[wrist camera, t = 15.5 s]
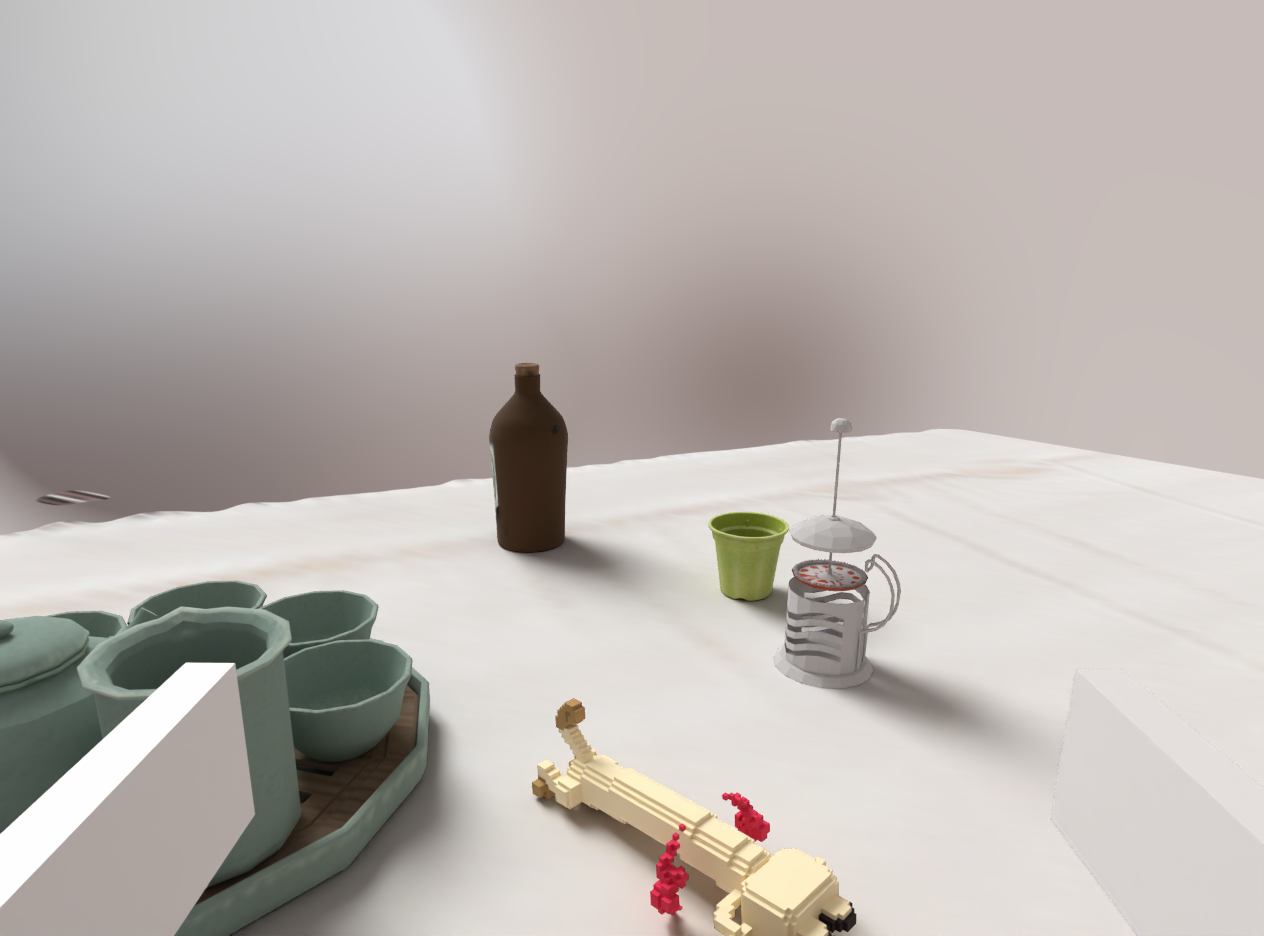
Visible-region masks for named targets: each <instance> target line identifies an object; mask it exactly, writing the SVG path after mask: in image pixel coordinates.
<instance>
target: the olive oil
mask: <svg viewBox="0 0 1264 936" xmlns="http://www.w3.org/2000/svg"><path fill="white" fill-rule="evenodd" d="M515 370H516V375H515V394H514V395H513V396H512V397H511V398H510V400H509V401H508V402H507V403H506V404H505V405H504V406H503V407H502V409H501V410H500V411H499V412H498V413H497V414H496V416H495V418H494V419H493V422H492V425H491V429H490V436H489V441H490V452H491V463H492V472H493V485H494V497H495V510H496V522H497V538H498V543H499V545H500V546H502V547H503V548H505V549H508V550H512V551H517V552H539V551H545V550H550V549H553V548H556V547H558V546H559V545H561V544H562V543H563V542H564V537H565V494H566V467H567V445H568V433H567V428H566V425H565V422H564V420H563V418H562V416H561V415H560V413H559V412H558V411H557V410H556V409H555V408H554V407H553V406H552V405H551V404H550V402H548V400H547V399H546V398H545V397H544V396H543V395H542V394H541V392H540V375H539V365H538V364H534V363H521V364H516V365H515Z"/></svg>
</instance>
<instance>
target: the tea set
mask: <svg viewBox="0 0 1264 936" xmlns="http://www.w3.org/2000/svg"><path fill="white" fill-rule="evenodd" d="M266 597H267V595H266V593H265V592H264V591H263V590H262V589H261V588H260V587H259V586H258V585H255V584H250V583H246V582H241V581H208V582H202V583H197V584H191V585H186V586H181V587H176V588H174V589H171V590H168V591H165V592H163V593H160V594H157V595H154V596H151V597H149V598H148V599H146V600H145V601H143V602H142V603H140V604H139V605H137V606H136V607H134V608H133V609H131V612H130V616H129V619H128V623H127V624H128V627H127V625H126V623H125V621H124V619H123V617H122V616H120V615H116V614H112V613H108V612H104V611H76V612H65V613H59V614H54V615H49V616H33V617H24V618H15V619H6V620H0V834H1V833H2V832H3V831H4V830H5V829H6V828H7V827H9V826H10V825H11V824H12V823H13V822H14V821H15V820H16V819H17V818H18V817H19V816H20V815H22V814H23V813H24V812H25V811H26V810H27V809H28V808H29V807H30V806H31V805H32V804H33V803H34V802H36V801H37V800H38V799H39V798H40V797H41V796H42V795H43V794H44V793H45V792H46V791H47V790H49V789H50V788H51V787H52V786H53V785H54V784H55V783H56V782H57V781H58V780H59V779H60V778H62V777H63V776H64V775H65V774H66V773H67V772H68V771H69V770H70V769H71V768H72V767H73V766H75V765H76V764H77V763H78V762H79V761H80V760H81V759H82V758H83V757H84V756H85V755H86V754H88V753H89V752H90V751H91V750H92V749H93V748H94V747H95V746H96V745H97V744H98V743H99V742H101V741H102V740H103V739H104V738H105V737H106V736H107V735H108V734H109V733H110V732H111V731H112V730H114V729H115V728H116V727H117V726H118V725H119V724H120V723H121V722H122V721H123V720H124V719H125V718H127V717H128V716H129V715H130V714H131V713H132V712H133V711H134V710H135V709H136V708H137V707H138V706H140V705H141V704H142V703H143V702H144V701H145V700H146V699H147V698H148V697H149V696H150V695H151V694H152V693H154V692H155V691H156V690H157V689H158V688H159V687H160V686H161V685H162V684H163V683H164V682H165V681H167V680H168V679H169V678H170V677H171V676H172V675H173V674H174V673H175V672H176V671H177V670H178V669H180V668H181V667H182V666H183V665H184V664H185V663H235V666H236V673H237V681H238V688H239V696H240V704H241V711H242V719H243V726H244V734H245V742H246V749H247V757H248V765H249V772H250V780H251V787H252V795H253V803H254V810H255V815H254V817H253V818H252V820H251V821H250V823H249V824H248V826H247V827H246V829H245V830H244V832H243V833H242V835H241V836H240V838H239V839H238V841H237V842H236V844H235V845H234V847H233V848H232V850H231V851H230V853H229V854H228V856H227V857H226V859H225V860H224V862H223V863H222V865H221V866H220V868H219V869H218V871H217V872H216V874H215V875H214V877H213V878H212V880H211V881H210V883H209V884H208V886H207V887H206V889H205V890H204V892H203V893H202V895H201V896H200V898H199V899H198V901H197V902H196V904H195V905H194V907H193V908H192V910H191V911H190V913H189V914H188V916H187V917H186V919H185V920H184V922H183V923H182V925H181V926H180V928H179V929H178V931H177V932H176V934H175V935H174V936H229V935H230V934H232V933H234V932H236V931H237V930H239V929H241V928H243V927H244V926H246V925H248V924H250V923H251V922H253V921H255V920H257V919H258V918H260V917H262V916H264V915H265V914H267V913H269V912H271V911H272V910H274V909H276V908H278V907H279V906H281V905H283V904H285V903H286V902H288V901H290V900H292V899H293V898H295V897H297V896H299V895H300V894H302V893H304V892H305V891H307V890H309V889H311V888H312V887H314V886H316V885H318V884H319V883H321V882H323V881H325V880H326V879H328V878H330V877H332V876H333V875H335V874H337V873H339V872H340V871H342V870H344V869H346V868H347V867H348V866H349V865H350V864H351V863H352V862H353V860H354V859H355V858H356V857H357V856H358V854H359V853H360V852H361V851H362V850H363V849H364V847H365V846H366V845H367V844H368V843H369V841H370V840H371V839H372V838H373V837H374V835H375V834H376V833H377V832H378V831H379V829H380V828H381V827H382V826H383V825H384V823H385V822H386V821H387V820H388V819H389V817H390V816H391V815H392V814H393V813H394V812H395V810H396V809H397V808H398V807H399V806H400V804H401V803H402V802H403V801H404V800H405V798H406V797H407V796H408V795H409V794H410V792H411V791H412V790H413V789H414V788H415V786H416V785H417V784H418V783H419V782H420V781H421V779H422V776H423V774H424V772H425V769H426V767H427V747H428V727H429V707H430V694H429V682H428V681H427V680H426V679H425V678H424V677H422V676H421V675H420V674H419V673H418V672H417V671H416V670H415V669H413V668H412V658H411V657H410V656H409V655H408V654H406V653H405V652H404V651H403V650H402V649H401V648H400V647H398V646H397V645H393V644H389V643H385V642H383V641H380V640H376V639H371V638H370V634H371V629H372V626H373V624H374V622H375V620H376V616H377V611H378V605H377V604H376V603H375V602H374V601H373V600H371V599H370V598H369V597H368V596H366V595H363V594H358V593H353V592H348V591H344V590H342V591H313V592H309V593H304V594H299V595H294V596H289V597H284V598H282V599H280V600H277V601H275V602H272V603H270V604H268V605H265V606H263V603H264V601H265V599H266ZM262 606H263V607H262Z"/></svg>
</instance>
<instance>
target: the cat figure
mask: <svg viewBox="0 0 1264 936" xmlns="http://www.w3.org/2000/svg"><path fill="white" fill-rule="evenodd" d="M557 711H558V715H557V716H556V727H557V728H559V732H560V733H562V737H563V738H564V739H565V743H567V744H569V745H570V749H572V750H573V754H574V755H575V759H574V760H572V761H570V762H569V768H568V771H567V776H565V777H564V776H562V775H561V774H560V771H559V770H558V769H556V768H554V764H553V763H552V762H550V761H548V760H545V761H543V762H541V763H539V764H537V769H538V780H536V781H534V782H532V789H533V794H534V795H536V796H538V797H539V798H542V797H544V798H546V799H549V798H550V797H552V796H554V795H556V801H557V802H558V803H560V804H561V805H563V806H564V807H566V808H568V809H572V808H574V807H575V806H577V805H578V804H579V803H581V802H583V803H585V804H586V805H588V806H589V807H591V808H593V809H595V810H599V809H600V810H602V811H603V812H605V813H607V814H608V815H610V816H611V817H613V818H615V819H616V820H618V821H620V822H622V823H624V824H627V823H629V824H631V825H632V826H634V827H635V828H637V829H639V830H640V831H642V832H644V833H645V834H647V835H648V836H650V837H652V838H653V839H655V840H657V841H658V842H660V843H662V844H663V845H665V846H666V853H665V854H664V855H662V856H661V857H659V860H660V862H659V863H657V864H656V871H657V878H658V879H660V880H659V881H658V882H656V883H655V884H654V889H653V890H652V891H650V896H651V905H652V906H654V907H655V908H656V909H658V912H659V913H660V914H663V913H665V912H666V913H668V914H672V915H673V914H674V913H676V911H678V910H680V909H682V906H680V905H679V895H677V894H675V893H676V892H678V891H679V888H678V887H680V888H684V887H685V881H687V880H688V879H689V875H688V874H687V873H685V868H684V867H682V866H680V867H678V868H677V867H675V866H674V865H672V864H671V863H672V862H674V856H676V855H677V853H678V854H680V859H681V860H683V861H684V862H686V863H688V864H689V865H691V866H692V867H694V868H696V869H697V870H699V871H701V872H702V873H704V874H705V875H707V876H709V877H710V878H712V879H714V880H715V881H716V886H718V887H720V888H721V889H723V890H724V891H726V892H728V893H729V895H727V896H726V897H725V898H724V899H723V900H721V901H720V902H719V903H718V904H717V905H716V912H714V913H713V919H714V928H715V929H716V930H718V931H719V932H721V933H722V934H724V935H725V936H831V934H832V933H833V932H834V931H835V930H837V931H838V932H841V931H842V930H845V931H846V932H848V931H849V930H850V929H851V928H852V927H853V926H854V925H855V924H856V914H855V913H854V908H852V903H851V902H850V901H848V900H846V899H844V898H842V897H841V896H839V882H837V877H836V876H834V875H833V874H832V870H831V869H830V868H828V867H826V861H825V860H824V859H822V858H820V857H818V856H817V857H816V858H813V857H811V856H810V855H808V854H806V853H804V852H802V851H800V850H798V849H792V848H790V849H788V850H787V849H785V848H784V849H782V850H780V851H779V852H777V853H776V854H775V855H774V856H773V857H772V858H771V857H770V852H768V851H766V850H765V849H763V848H761V847H759V846H758V845H756V844H755V843H754V842H755V841H756V840H759V841H761V842H762V841H764V840H765V839H766V838H767V833H769V832H770V823H768V822H766V821H764V820H763V815H761V814H759V813H758V812H757V811H755V810H753V806H752V805H750V804H749V800H748V799H746V798H745V797H742V798H741V794H739V793H736V794H733V793H730V794H727V793H724V794H723V795H722V796H723V799H724V800H728V799H730V800H732V805H733V806H737V808H738V809H739V810H740V811H739V812H738V813H737V814H735V827H736V828H738V830H736V829H734V828H733V827H731V826H729V825H727V824H725V823H723V822H722V821H720V820H718V819H717V815H715V814H714V813H712V812H711V811H709V810H707V809H705V808H703V807H701V806H700V805H698V804H696V803H694V802H692V801H690V800H689V799H687V798H685V797H683V796H681V795H679V794H677V793H676V792H674V791H672V790H670V789H668V788H666V787H664V786H663V785H661V784H659V783H657V782H655V781H653V780H652V779H650V778H648V777H646V776H644V775H642V774H640V773H639V772H637V771H635V770H633V769H631V768H628V769H624V768H623V767H621V766H619V765H618V764H617V762H616V761H614V760H612V759H610V758H609V757H607V756H605V755H602V756H599V755H597V754H596V750H594V749H592V748H591V746H590V744H589V743H587V741H586V740H584V735H582V734H581V730H579V729H578V725H576V724H578V723H580V722H582V721H583V719H585V707H583V706H582V702H580V701H578V700H576V699H574V698H573V699H571V700H569V701H567V702H565V703H564V705H562V707H560V709H559V710H557ZM740 905H741V918H742V925H741V926H740V925H738V924H737V923H735V922H734V921H732V918H733V917H734V916H735V909H737V908H738V907H739V906H740Z"/></svg>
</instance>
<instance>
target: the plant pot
mask: <svg viewBox="0 0 1264 936" xmlns="http://www.w3.org/2000/svg"><path fill="white" fill-rule="evenodd" d="M709 528H710V529H711V530H712V533H713V538H714V540H715V544H716V552H717V561H718V569H719V579H720V588H721V591H722V593H723V594H725V595H726V596H728V597H730V598H734V599H737V598H744V599H746V600H748V601H755V600H760V599H763V598H766V597H768V596H769V595H770V593H771V591H772V586H773V581H774V576H775V570H776V565H777V560H778V555H779V550H780V546H781V544H782V542H783V539H784V535H785V534H786V533H787V532H788V530H789V525H788V523H787V522H786V521H784V520H783V519H780V518H778V517H775V516H772V515H768V514H763V513H755V512H731V513H725V514H720V515H718V516H715V517H713V518H712V519H710V521H709Z"/></svg>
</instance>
